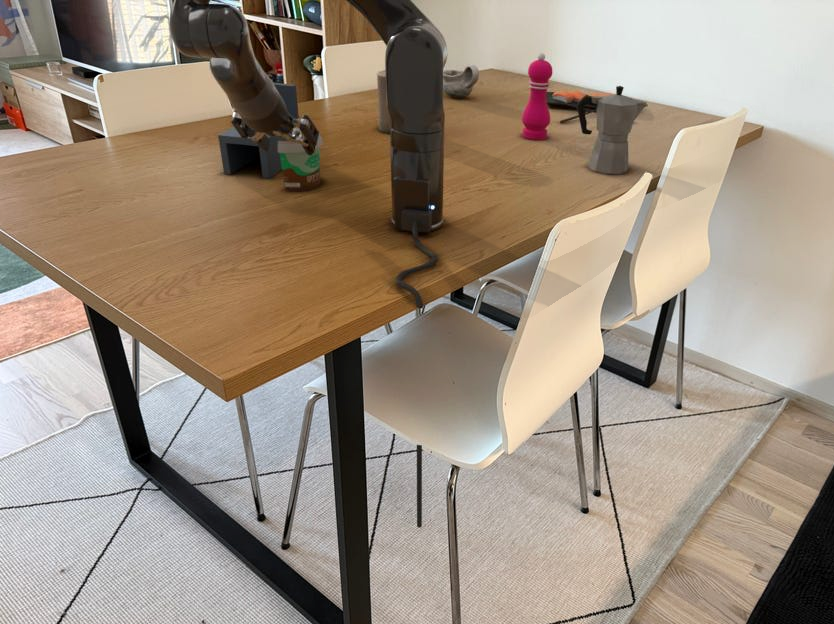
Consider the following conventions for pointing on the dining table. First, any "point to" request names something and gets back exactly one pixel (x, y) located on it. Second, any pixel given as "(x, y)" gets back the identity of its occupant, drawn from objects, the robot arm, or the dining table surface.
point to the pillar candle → (382, 103)
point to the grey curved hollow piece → (460, 81)
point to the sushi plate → (569, 101)
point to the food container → (299, 165)
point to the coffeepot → (610, 130)
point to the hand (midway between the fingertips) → (289, 148)
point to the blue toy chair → (245, 150)
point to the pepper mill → (537, 100)
